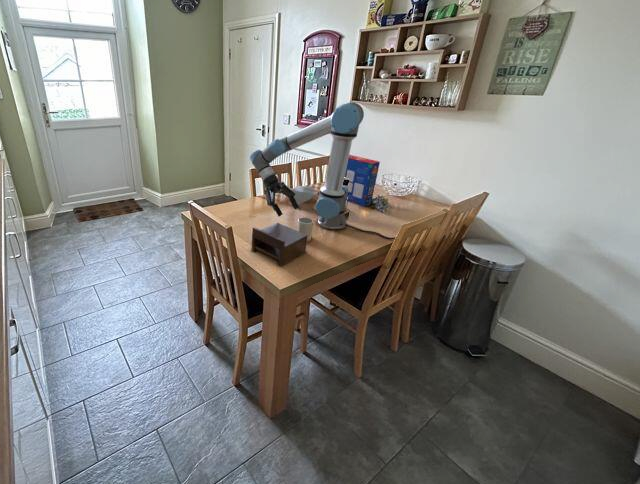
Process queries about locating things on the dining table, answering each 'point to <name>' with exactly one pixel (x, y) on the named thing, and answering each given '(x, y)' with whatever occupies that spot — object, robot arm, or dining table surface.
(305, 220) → the cup
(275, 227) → the shelf
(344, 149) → the robot arm
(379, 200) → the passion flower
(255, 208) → the dining table surface
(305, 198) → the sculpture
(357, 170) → the pasta box
